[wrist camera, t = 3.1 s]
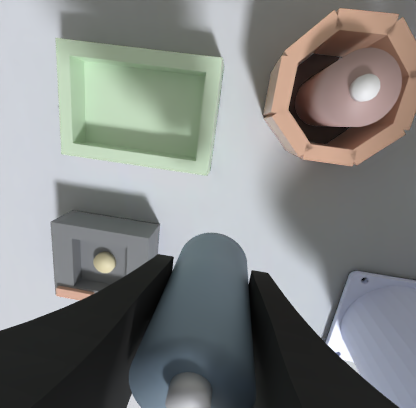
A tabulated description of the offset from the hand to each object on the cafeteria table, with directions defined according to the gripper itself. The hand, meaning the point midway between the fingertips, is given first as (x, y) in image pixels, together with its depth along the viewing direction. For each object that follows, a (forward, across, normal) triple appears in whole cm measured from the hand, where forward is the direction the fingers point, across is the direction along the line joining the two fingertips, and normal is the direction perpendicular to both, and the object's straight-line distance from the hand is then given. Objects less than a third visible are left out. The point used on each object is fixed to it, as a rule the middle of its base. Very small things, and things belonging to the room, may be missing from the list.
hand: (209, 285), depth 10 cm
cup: (+9, -5, -8) cm, 13 cm away
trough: (+9, +6, -6) cm, 13 cm away
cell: (+2, 0, 0) cm, 2 cm away
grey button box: (+9, +8, +5) cm, 13 cm away
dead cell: (+9, -5, -8) cm, 13 cm away
